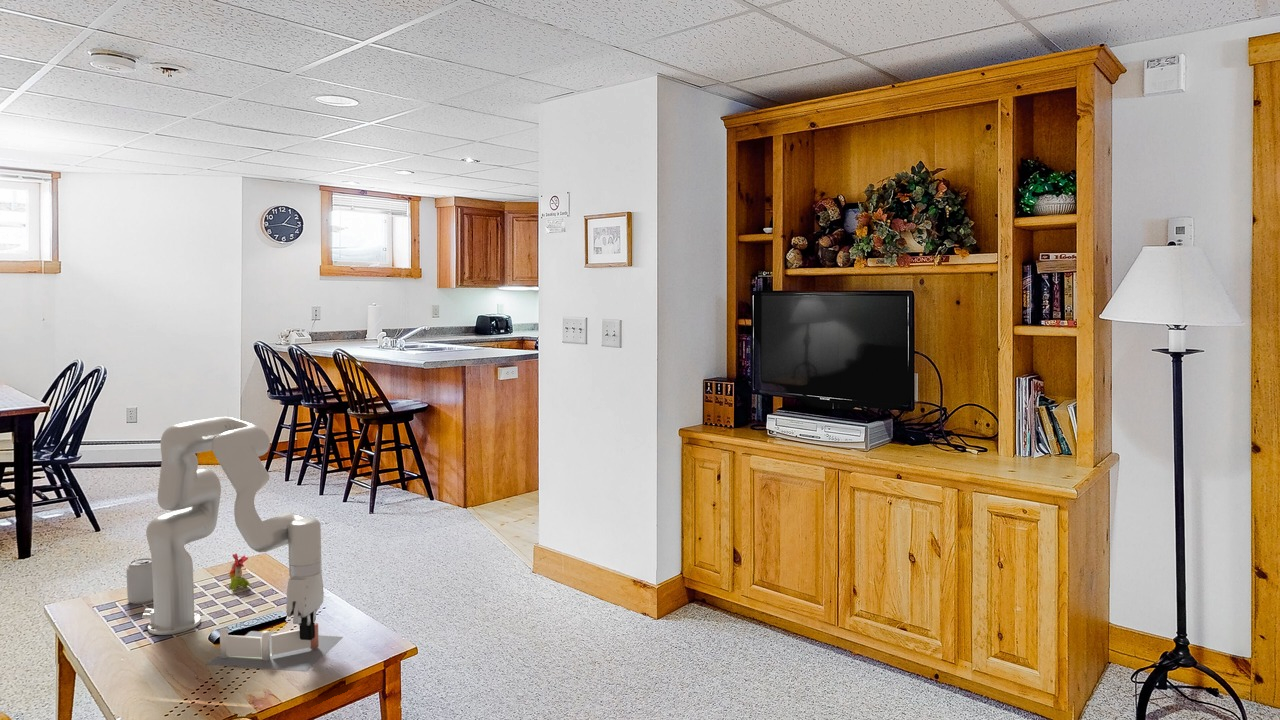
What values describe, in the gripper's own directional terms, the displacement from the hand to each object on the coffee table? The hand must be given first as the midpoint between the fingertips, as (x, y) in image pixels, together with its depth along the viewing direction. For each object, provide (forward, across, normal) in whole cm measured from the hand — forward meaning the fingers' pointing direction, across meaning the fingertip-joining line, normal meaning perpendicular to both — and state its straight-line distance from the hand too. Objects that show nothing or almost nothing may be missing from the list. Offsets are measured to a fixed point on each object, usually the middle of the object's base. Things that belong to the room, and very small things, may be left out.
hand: (307, 638), depth 198 cm
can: (+4, -25, -67) cm, 71 cm away
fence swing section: (+4, 0, -3) cm, 5 cm away
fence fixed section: (+4, +4, -14) cm, 15 cm away
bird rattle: (+4, -39, -46) cm, 60 cm away
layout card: (+5, -1, -9) cm, 10 cm away
